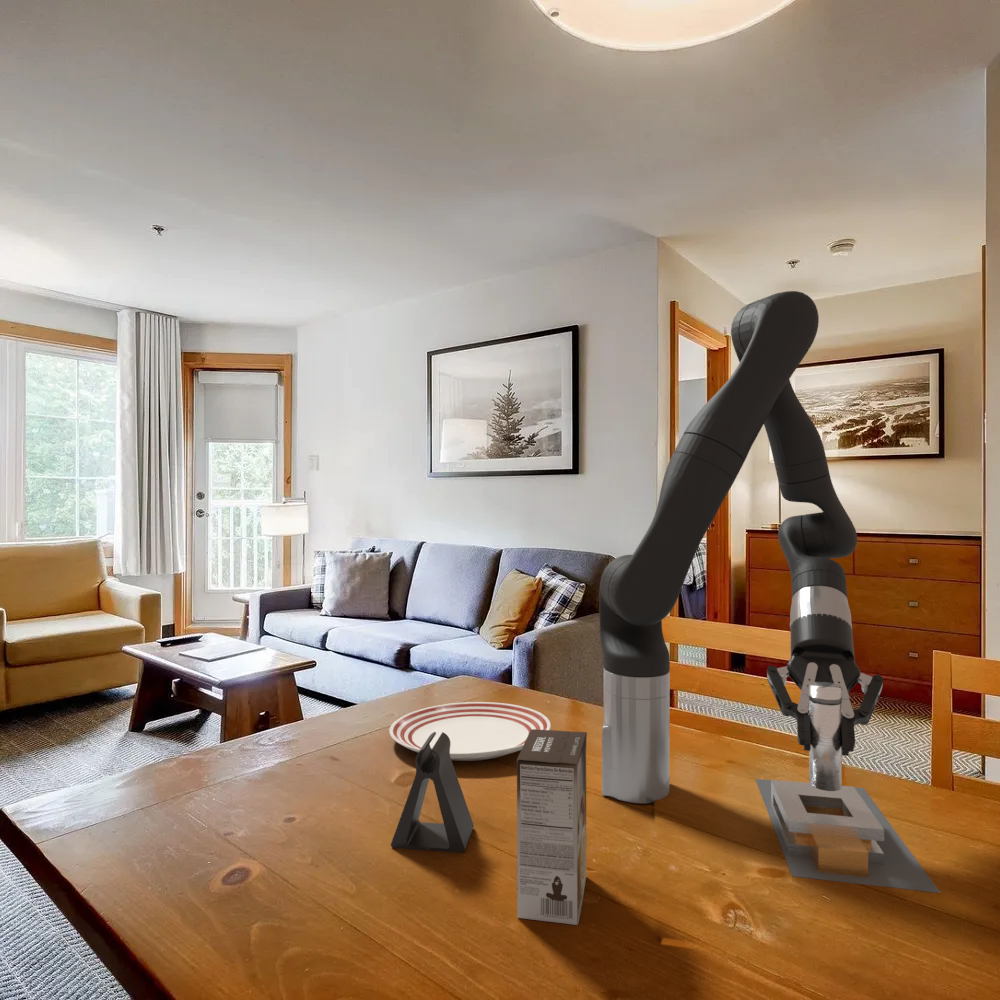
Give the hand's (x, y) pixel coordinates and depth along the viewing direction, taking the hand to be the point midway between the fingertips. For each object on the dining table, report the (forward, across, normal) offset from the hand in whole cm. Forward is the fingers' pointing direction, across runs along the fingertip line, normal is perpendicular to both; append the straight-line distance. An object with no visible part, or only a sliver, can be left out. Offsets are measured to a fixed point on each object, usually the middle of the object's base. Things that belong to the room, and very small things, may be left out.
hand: (826, 749), depth 80 cm
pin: (+2, 0, +5) cm, 5 cm away
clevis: (+7, 0, +9) cm, 12 cm away
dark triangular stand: (+19, -44, -2) cm, 48 cm away
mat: (+4, +1, +12) cm, 13 cm away
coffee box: (+23, -27, -6) cm, 36 cm away
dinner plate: (-3, -54, +20) cm, 58 cm away
